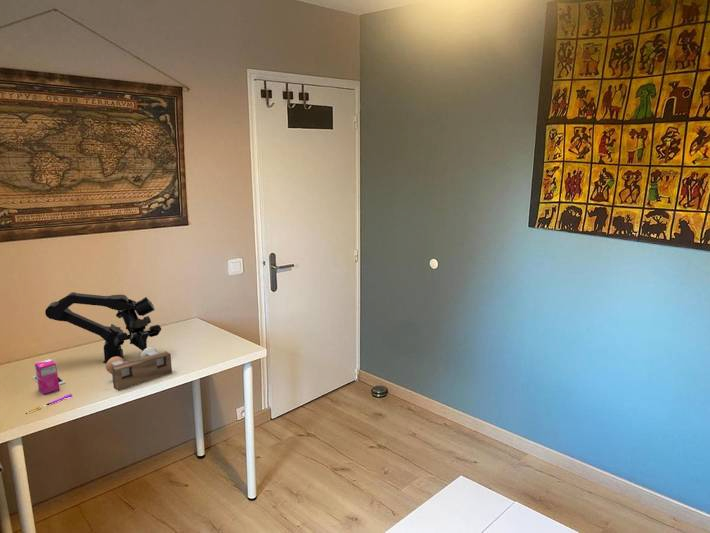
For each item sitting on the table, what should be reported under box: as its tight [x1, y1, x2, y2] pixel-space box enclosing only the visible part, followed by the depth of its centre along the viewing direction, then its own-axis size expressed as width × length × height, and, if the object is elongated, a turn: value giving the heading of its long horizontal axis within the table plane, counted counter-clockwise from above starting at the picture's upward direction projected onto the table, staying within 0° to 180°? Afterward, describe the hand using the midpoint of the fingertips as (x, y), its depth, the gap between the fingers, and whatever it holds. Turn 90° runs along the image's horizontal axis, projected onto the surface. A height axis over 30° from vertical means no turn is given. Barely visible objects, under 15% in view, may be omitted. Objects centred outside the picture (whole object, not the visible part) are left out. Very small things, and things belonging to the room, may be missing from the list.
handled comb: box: [29, 393, 73, 412], centre depth 182 cm, size 3×1×16 cm
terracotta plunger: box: [105, 356, 130, 377], centre depth 199 cm, size 9×7×7 cm
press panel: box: [111, 350, 173, 392], centre depth 201 cm, size 4×22×9 cm, turn 137°
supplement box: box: [34, 358, 61, 396], centre depth 192 cm, size 6×6×12 cm
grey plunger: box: [140, 346, 164, 366], centre depth 209 cm, size 9×7×7 cm
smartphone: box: [32, 375, 66, 386], centre depth 201 cm, size 7×16×1 cm, turn 49°
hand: (145, 351), depth 214 cm, fingers closed
